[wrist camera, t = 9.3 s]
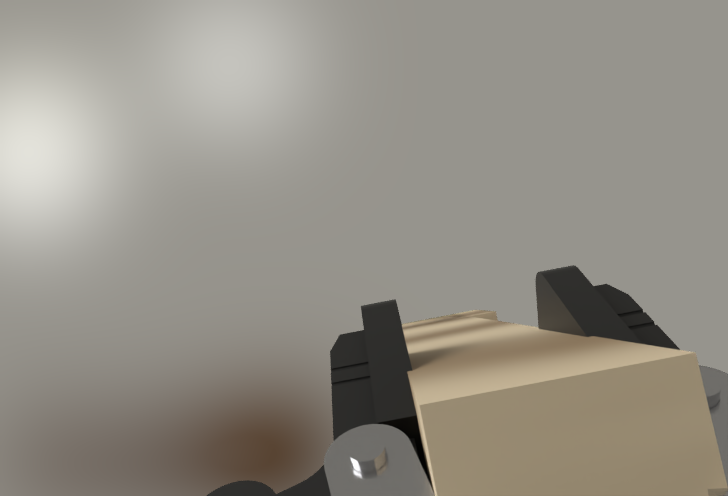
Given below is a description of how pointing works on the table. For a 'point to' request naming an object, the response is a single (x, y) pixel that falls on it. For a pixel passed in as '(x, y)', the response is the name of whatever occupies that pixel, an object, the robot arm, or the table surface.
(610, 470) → the tan wooden plank
